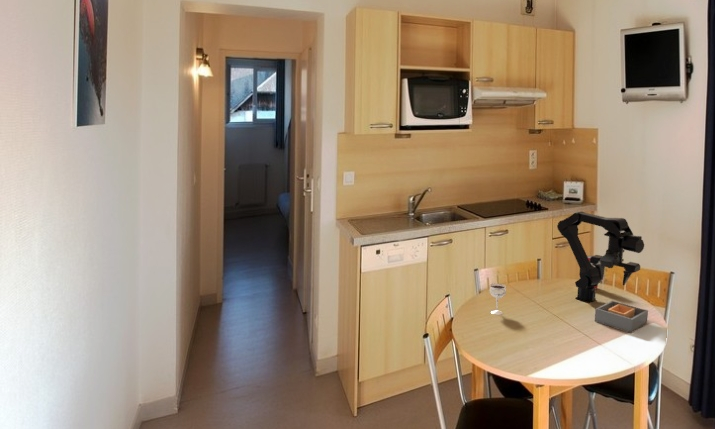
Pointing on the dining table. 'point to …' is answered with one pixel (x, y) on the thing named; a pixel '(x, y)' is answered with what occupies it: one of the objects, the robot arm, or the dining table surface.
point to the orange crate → (623, 311)
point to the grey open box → (621, 317)
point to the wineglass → (497, 295)
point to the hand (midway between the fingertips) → (612, 282)
